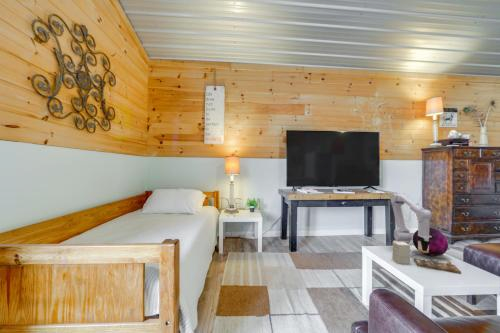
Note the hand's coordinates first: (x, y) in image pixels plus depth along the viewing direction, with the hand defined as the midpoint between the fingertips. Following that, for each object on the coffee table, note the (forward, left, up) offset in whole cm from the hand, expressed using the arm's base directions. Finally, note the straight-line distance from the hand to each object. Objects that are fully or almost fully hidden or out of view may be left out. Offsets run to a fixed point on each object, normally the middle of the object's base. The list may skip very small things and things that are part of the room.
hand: (423, 249), depth 143 cm
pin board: (+7, 0, -10) cm, 12 cm away
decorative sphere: (+9, +22, -10) cm, 26 cm away
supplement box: (-12, -3, -10) cm, 16 cm away
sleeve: (0, 0, -1) cm, 1 cm away
